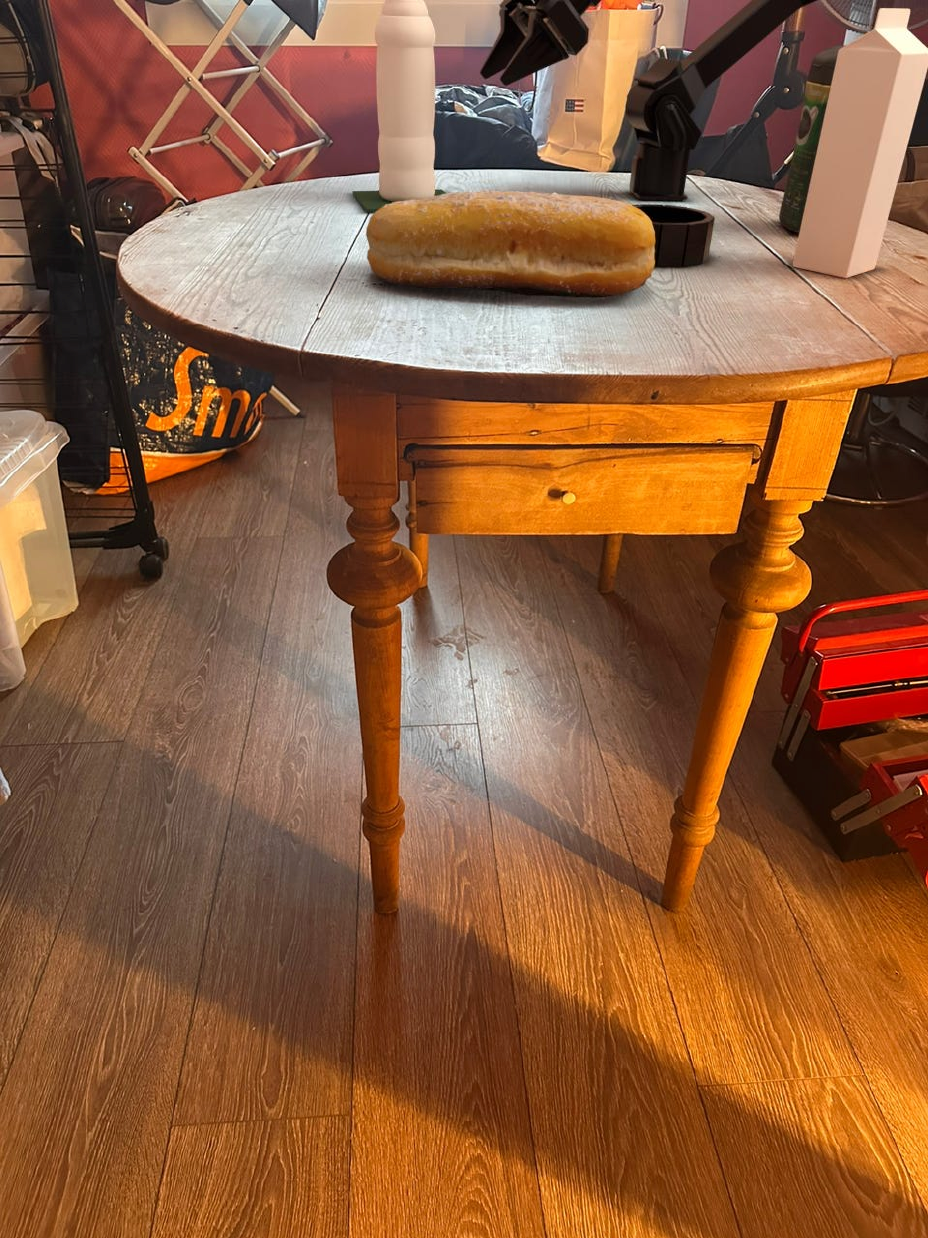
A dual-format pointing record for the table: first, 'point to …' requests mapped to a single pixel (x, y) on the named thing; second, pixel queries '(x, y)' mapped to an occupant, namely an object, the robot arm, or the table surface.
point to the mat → (377, 199)
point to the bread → (513, 243)
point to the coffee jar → (808, 138)
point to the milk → (862, 147)
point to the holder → (679, 234)
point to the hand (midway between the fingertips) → (491, 79)
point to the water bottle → (405, 100)
